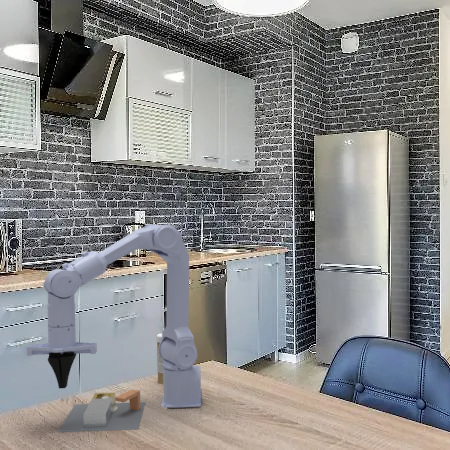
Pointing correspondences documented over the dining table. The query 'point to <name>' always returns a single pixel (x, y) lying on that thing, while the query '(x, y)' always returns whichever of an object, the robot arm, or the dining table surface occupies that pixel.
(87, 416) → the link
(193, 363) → the robot arm
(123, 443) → the dining table surface
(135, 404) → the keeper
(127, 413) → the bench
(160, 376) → the sprinkles bottle
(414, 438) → the dining table surface
